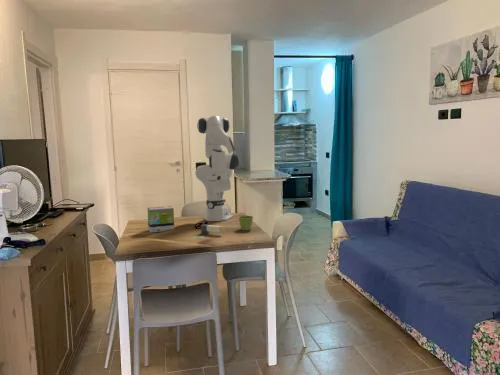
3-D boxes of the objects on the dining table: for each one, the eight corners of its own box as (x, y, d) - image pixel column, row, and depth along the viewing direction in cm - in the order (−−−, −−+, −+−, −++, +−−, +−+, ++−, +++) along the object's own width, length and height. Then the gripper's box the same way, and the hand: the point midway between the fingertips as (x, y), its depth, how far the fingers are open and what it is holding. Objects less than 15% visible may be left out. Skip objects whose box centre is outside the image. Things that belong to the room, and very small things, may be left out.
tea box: (150, 233, 247) (149, 209, 245) (148, 230, 256) (146, 207, 254) (174, 230, 252) (173, 207, 251) (171, 227, 262) (170, 205, 260)
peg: (199, 234, 237) (199, 225, 236) (203, 232, 241) (203, 224, 240) (220, 236, 230) (220, 227, 229) (225, 234, 234) (225, 226, 233)
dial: (199, 229, 254) (199, 227, 254) (233, 232, 243) (233, 230, 243) (175, 238, 232) (175, 236, 232) (211, 242, 221) (211, 240, 221)
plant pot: (236, 229, 250) (236, 216, 249) (251, 228, 253) (250, 215, 252) (240, 233, 242) (240, 219, 241) (255, 231, 244) (255, 217, 243)
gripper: (224, 174, 247) (224, 196, 249) (205, 177, 229) (206, 201, 231) (232, 174, 244) (233, 197, 246) (214, 177, 226) (215, 202, 228)
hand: (220, 199), depth 238 cm, fingers closed
